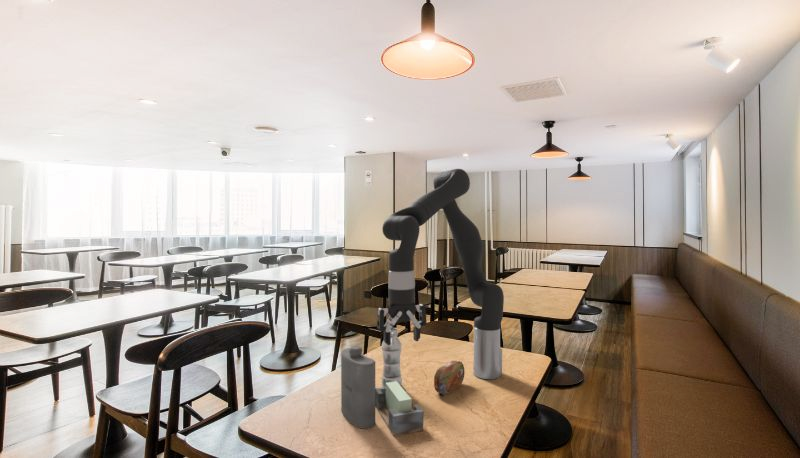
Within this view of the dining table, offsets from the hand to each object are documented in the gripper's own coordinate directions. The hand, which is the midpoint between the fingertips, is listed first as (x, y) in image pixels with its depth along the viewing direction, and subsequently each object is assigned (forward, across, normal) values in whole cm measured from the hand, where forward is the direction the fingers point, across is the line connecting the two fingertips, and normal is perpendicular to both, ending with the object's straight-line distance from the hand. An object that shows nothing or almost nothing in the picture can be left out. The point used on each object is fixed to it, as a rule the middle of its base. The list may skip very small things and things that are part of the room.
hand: (402, 342), depth 110 cm
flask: (+21, +13, -3) cm, 25 cm away
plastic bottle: (+21, -2, -16) cm, 27 cm away
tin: (+22, -20, -10) cm, 31 cm away
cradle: (+21, +2, +1) cm, 21 cm away
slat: (+20, +2, +1) cm, 20 cm away
